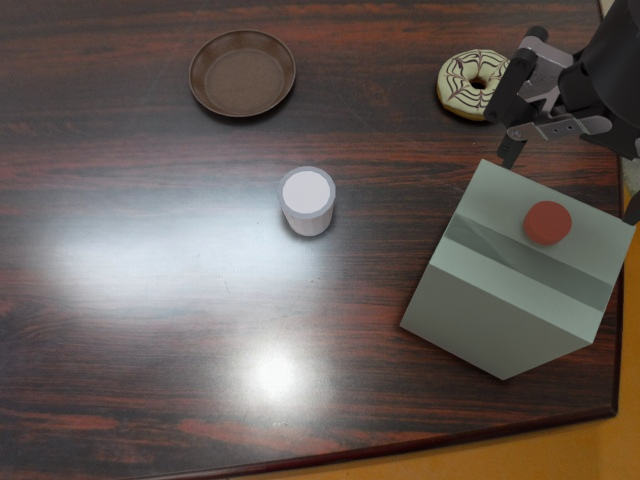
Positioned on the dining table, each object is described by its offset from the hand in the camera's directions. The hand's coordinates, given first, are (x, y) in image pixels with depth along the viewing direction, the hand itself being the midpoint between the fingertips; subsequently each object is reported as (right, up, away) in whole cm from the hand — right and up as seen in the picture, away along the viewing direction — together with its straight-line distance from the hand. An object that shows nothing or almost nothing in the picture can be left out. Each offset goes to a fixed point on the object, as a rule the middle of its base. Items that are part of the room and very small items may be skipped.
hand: (569, 185), depth 37 cm
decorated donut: (+4, +17, +36) cm, 40 cm away
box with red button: (+2, -11, +27) cm, 29 cm away
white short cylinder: (-18, -1, +32) cm, 37 cm away
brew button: (0, -3, +5) cm, 5 cm away
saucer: (-28, +19, +40) cm, 52 cm away
